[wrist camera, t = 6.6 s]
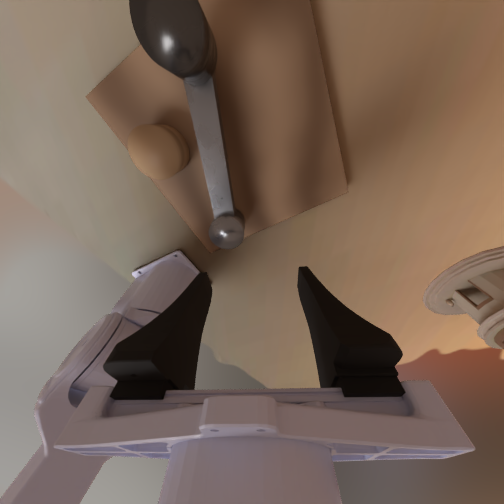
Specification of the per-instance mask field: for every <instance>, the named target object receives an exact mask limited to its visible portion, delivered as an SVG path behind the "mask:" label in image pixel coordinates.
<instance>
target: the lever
mask: <svg viewBox="0 0 504 504" xmlns="http://www.w3.org/2000/svg"><path fill="white" fill-rule="evenodd" d="M129 5H130V14H131V20H132V23H133V27H134V30H135V33H136V35H137V37H138V40H139V42H140V44H141V45H142V47H143V49H144V50H145V52H146V53H147V54H148V55H149V57H150V58H151V59H152V60H153V61H154V62H155V63H157V64H158V65H159V66H161V67H162V68H164V69H166V70H167V71H169V72H170V73H172V74H174V75H175V76H177V77H178V78H180V79H182V80H183V82H184V86H185V91H186V95H187V99H188V104H189V108H190V113H191V117H192V121H193V126H194V130H195V134H196V139H197V143H198V147H199V152H200V156H201V161H202V165H203V169H204V174H205V178H206V182H207V187H208V191H209V196H210V200H211V204H212V209H213V213H214V219H213V221H212V223H211V225H210V228H209V237H210V239H211V241H212V242H213V243H214V244H215V245H216V246H218V247H220V248H223V249H233V248H236V247H238V246H239V245H240V244H241V243H242V241H243V239H244V230H245V218H244V216H243V214H242V213H241V212H240V211H239V210H238V209H236V208H235V202H234V196H233V189H232V182H231V176H230V169H229V162H228V156H227V149H226V143H225V136H224V129H223V123H222V116H221V110H220V103H219V96H218V90H217V83H216V77H215V69H216V65H217V58H218V55H217V45H216V41H215V37H214V35H213V32H212V30H211V28H210V26H209V23H208V21H207V19H206V17H205V14H204V12H203V10H202V8H201V6H200V3H199V1H198V0H129Z"/></svg>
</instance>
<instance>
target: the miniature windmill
mask: <svg viewBox="0 0 504 504" xmlns="http://www.w3.org/2000/svg"><path fill="white" fill-rule="evenodd" d="M423 302H424V304H425V307H426V308H428V309H429V310H431V311H433V312H434V313H438V314H443V315H460V314H466V313H467V314H468V315H469V316H471V317H472V318H473V319H474V320H475V321H476V322H477V323H478V324H480V326H479V328H478V330H477V334H478V336H479V337H480V338H482V339H483V340H485V343H486V344H487V345H489V346H490V347H492V348H498V349H504V247H500V248H495V249H491V250H487V251H483V252H481V253H478V254H476V255H473V256H471V257H469V258H466V259H464V260H462V261H460V262H458V263H457V264H455V265H453V266H452V267H450V268H448V269H447V270H445V271H444V272H443V273H441V274H440V275H439V276H438V277H437V278H436V279H434V280H433V281H432V282H431V284H430V285H429V287H428V288H427V289H426V291H425V293H424V298H423Z"/></svg>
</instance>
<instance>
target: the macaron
mask: <svg viewBox="0 0 504 504" xmlns="http://www.w3.org/2000/svg"><path fill="white" fill-rule="evenodd" d="M128 150H129V154H130V157H131V159H132V161H133V162H134V164H135V165H136V167H137V168H138V169H139V170H140V171H141V172H142V173H144V174H145V175H147V176H148V177H150V178H153V179H157V180H165V179H168V178H170V177H172V176H174V175H175V174H177V173H178V172H180V171H182V170H183V169H184V168H185V167H186V166H187V164H188V161H189V148H188V145H187V142H186V140H185V139H184V137H183V136H182V135H181V134H180V133H179V132H178V131H177V130H176V129H175V128H173V127H171V126H168V125H158V124H144V125H139V126H137V127H135V128H134V129H133V130H132V131H131V133H130V135H129V137H128Z"/></svg>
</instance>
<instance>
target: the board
mask: <svg viewBox="0 0 504 504" xmlns="http://www.w3.org/2000/svg"><path fill="white" fill-rule="evenodd" d="M198 1H199V3H200V6H201V8H202V10H203V12H204V14H205V17H206V19H207V21H208V23H209V26H210V28H211V30H212V32H213V35H214V37H215V41H216V45H217V55H218V58H217V65H216V69H215V77H216V83H217V90H218V96H219V103H220V110H221V116H222V123H223V129H224V136H225V143H226V149H227V156H228V162H229V169H230V176H231V182H232V189H233V196H234V202H235V208H236V209H238V210H239V211H240V212H241V213H242V214H243V216H244V218H245V230H244V238H246V237H248V236H250V235H252V234H255V233H257V232H259V231H261V230H264V229H266V228H268V227H270V226H273V225H275V224H277V223H280V222H282V221H284V220H286V219H289V218H291V217H293V216H295V215H298V214H300V213H302V212H304V211H307V210H309V209H311V208H313V207H316V206H318V205H320V204H322V203H325V202H327V201H329V200H332V199H334V198H336V197H338V196H341V195H343V194H345V193H347V192H348V187H347V182H346V177H345V172H344V167H343V162H342V157H341V152H340V147H339V142H338V137H337V132H336V127H335V122H334V117H333V112H332V107H331V103H330V98H329V93H328V88H327V83H326V78H325V73H324V68H323V63H322V58H321V53H320V48H319V43H318V38H317V33H316V28H315V23H314V18H313V13H312V8H311V3H310V0H198ZM86 98H87V99H88V101H89V102H90V103H91V104H92V106H93V107H94V108H95V109H96V111H97V112H98V113H99V114H100V116H101V117H102V118H103V119H104V121H105V122H106V123H107V124H108V126H109V127H110V128H111V129H112V131H113V132H114V133H115V134H116V136H117V137H118V138H119V139H120V141H121V142H122V143H123V145H124V146H125V147H126V148H127V150H128V137H129V135H130V133H131V131H132V130H133V129H134V128H135V127H137V126H139V125H144V124H158V125H168V126H171V127H173V128H175V129H176V130H177V131H178V132H179V133H180V134H181V135H182V136H183V137H184V139H185V140H186V142H187V145H188V148H189V161H188V164H187V166H186V167H185V168H184V169H183V170H182V171H180V172H178V173H177V174H175V175H174V176H172V177H170V178H168V179H165V180H157V179H153V178H151V180H152V181H153V182H154V183H155V185H156V186H157V187H158V188H159V190H160V191H161V192H162V194H163V195H164V196H165V197H166V199H167V200H168V201H169V202H170V204H171V205H172V206H173V207H174V209H175V210H176V211H177V212H178V214H179V215H180V216H181V217H182V219H183V220H184V221H185V222H186V224H187V225H188V226H189V227H190V229H191V230H192V231H193V232H194V234H195V235H196V236H197V237H198V239H199V240H200V241H201V243H202V244H203V245H204V246H205V248H206V249H207V250H208V251H209V253H212V252H214V251H216V250H218V249H221V248H220V247H218V246H216V245H215V244H214V243H213V242H212V241H211V239H210V237H209V228H210V225H211V223H212V221H213V219H214V213H213V209H212V204H211V200H210V196H209V191H208V187H207V182H206V178H205V174H204V169H203V165H202V161H201V156H200V152H199V147H198V143H197V139H196V134H195V130H194V126H193V121H192V117H191V113H190V108H189V104H188V99H187V95H186V91H185V86H184V82H183V80H182V79H180V78H178V77H177V76H175V75H174V74H172V73H170V72H169V71H167V70H166V69H164V68H162V67H161V66H159V65H158V64H157V63H155V62H154V61H153V60H152V59H151V58H150V57H149V55H148V54H147V53H146V52H145V50H144V49H143V47H142V45H141V44H140V45H139V46H138V47H137V48H136V49H135V50H134V51H133V52H132V53H131V54H130V55H129V56H128V57H127V58H126V59H125V60H123V61H122V62H121V63H120V64H119V65H118V66H117V67H116V68H115V69H114V70H113V71H112V72H111V73H110V74H109V75H108V76H107V77H106V78H105V79H103V80H102V81H101V82H100V83H99V84H98V85H97V86H96V87H95V88H94V89H93V90H92V91H91V92H90V93H89V94H88V95H87V96H86ZM128 151H129V150H128Z"/></svg>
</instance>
